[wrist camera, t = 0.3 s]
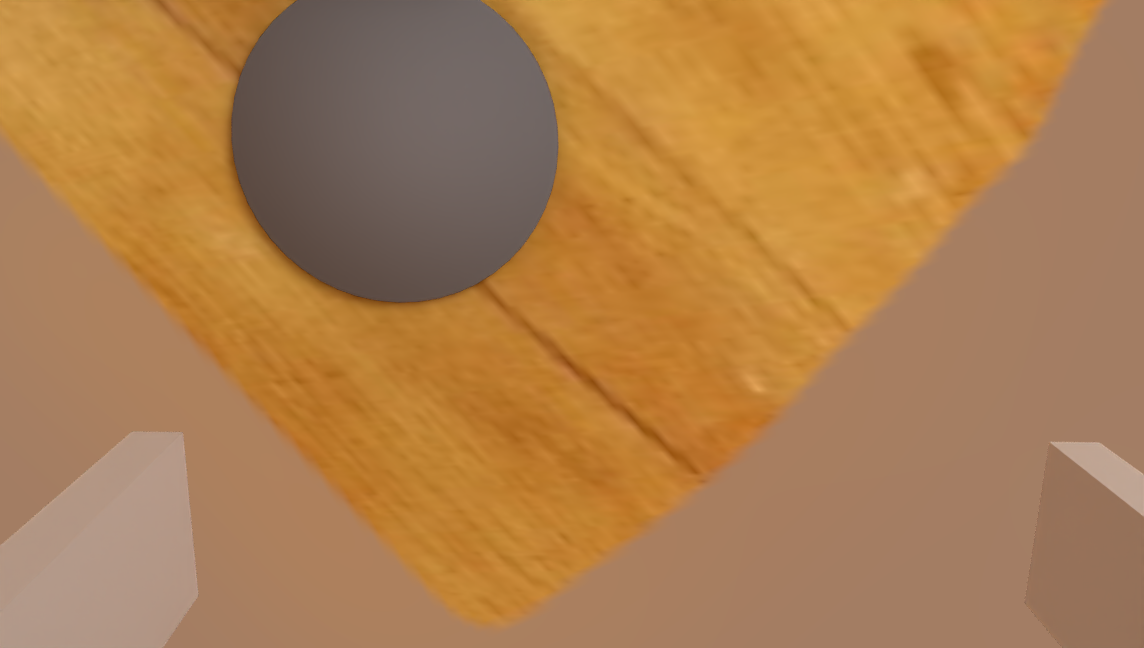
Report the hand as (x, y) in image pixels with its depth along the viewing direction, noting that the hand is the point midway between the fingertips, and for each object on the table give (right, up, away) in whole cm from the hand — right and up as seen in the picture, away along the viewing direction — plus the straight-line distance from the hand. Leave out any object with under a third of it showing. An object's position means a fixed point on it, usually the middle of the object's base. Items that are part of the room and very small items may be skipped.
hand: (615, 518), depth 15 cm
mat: (-8, +10, +25) cm, 28 cm away
